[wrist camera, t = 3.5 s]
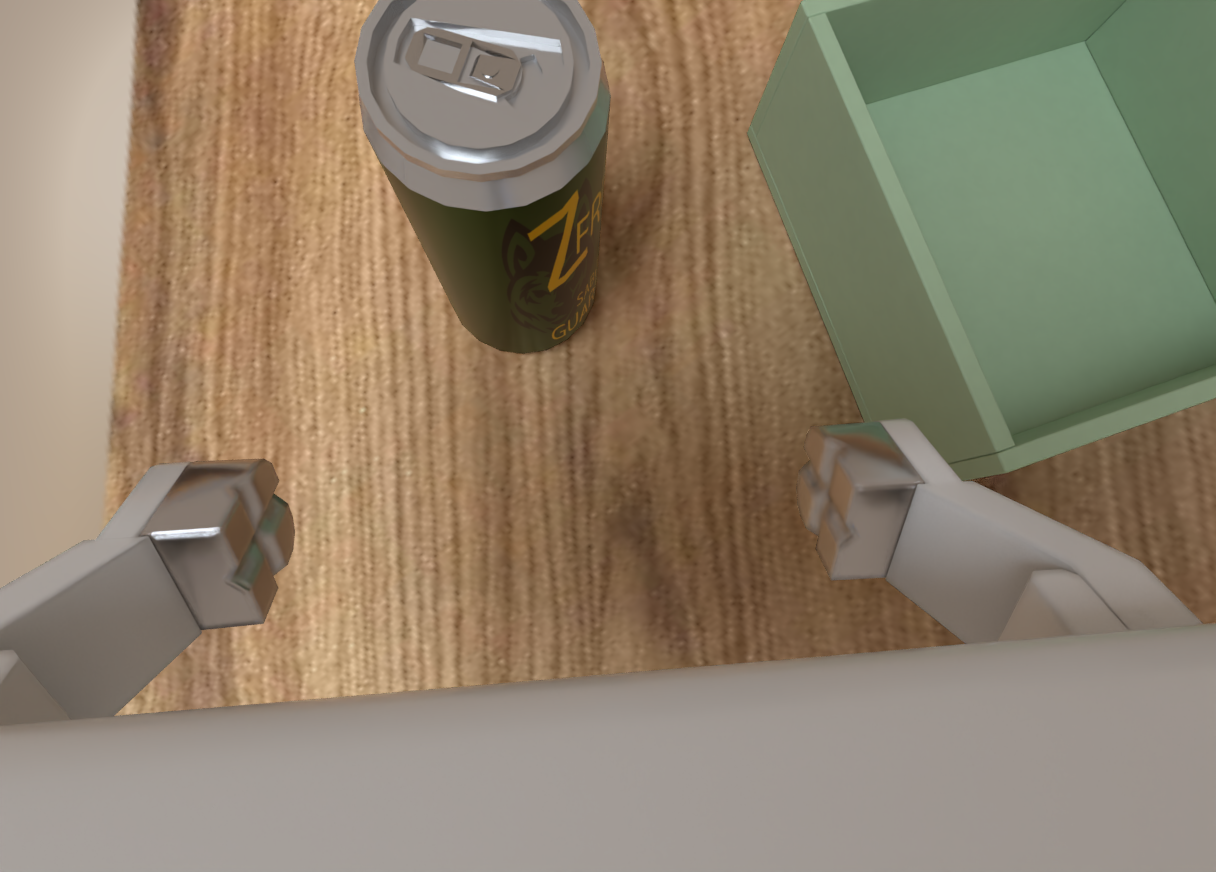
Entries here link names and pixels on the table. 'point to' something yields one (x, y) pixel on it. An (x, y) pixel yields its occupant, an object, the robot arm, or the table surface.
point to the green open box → (1004, 212)
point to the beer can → (494, 154)
